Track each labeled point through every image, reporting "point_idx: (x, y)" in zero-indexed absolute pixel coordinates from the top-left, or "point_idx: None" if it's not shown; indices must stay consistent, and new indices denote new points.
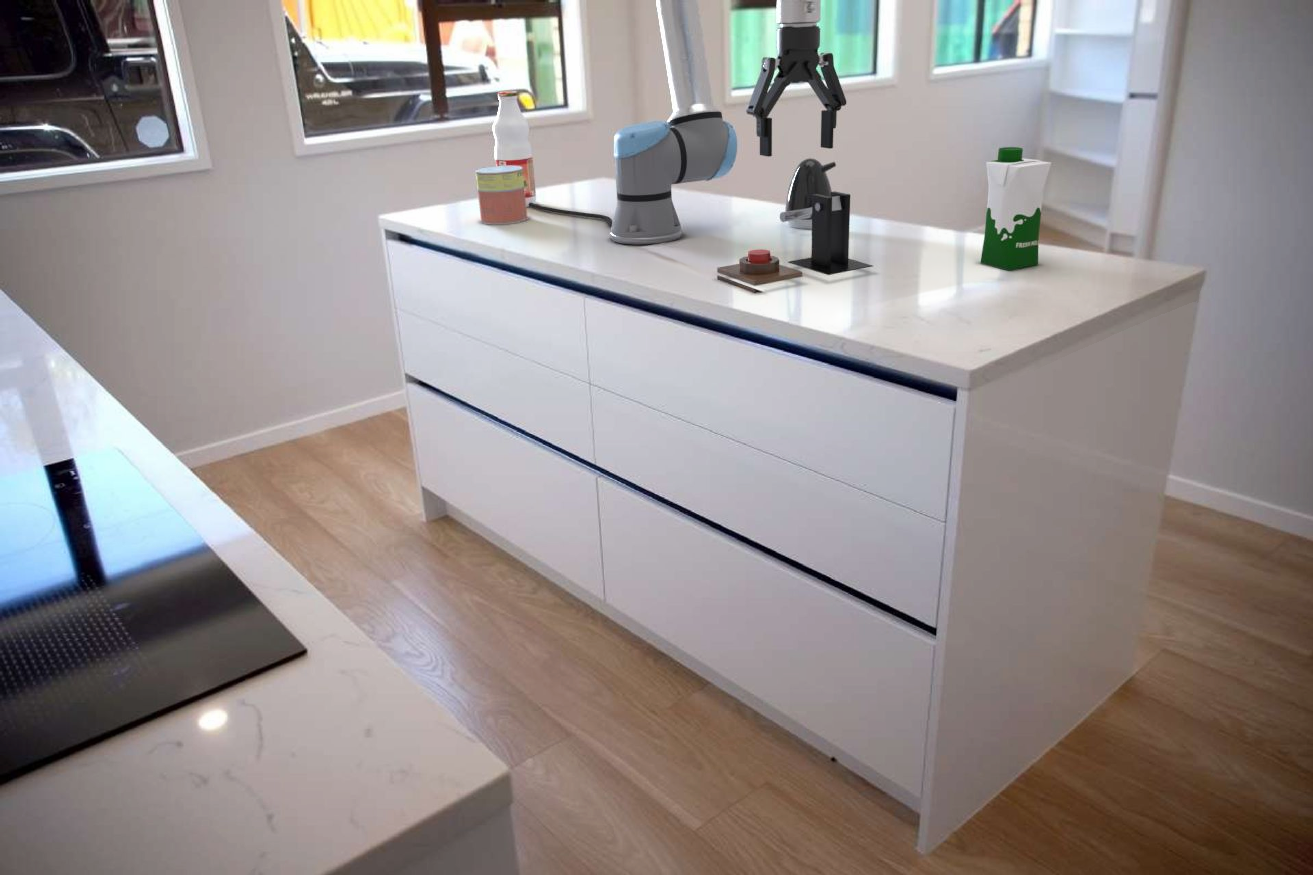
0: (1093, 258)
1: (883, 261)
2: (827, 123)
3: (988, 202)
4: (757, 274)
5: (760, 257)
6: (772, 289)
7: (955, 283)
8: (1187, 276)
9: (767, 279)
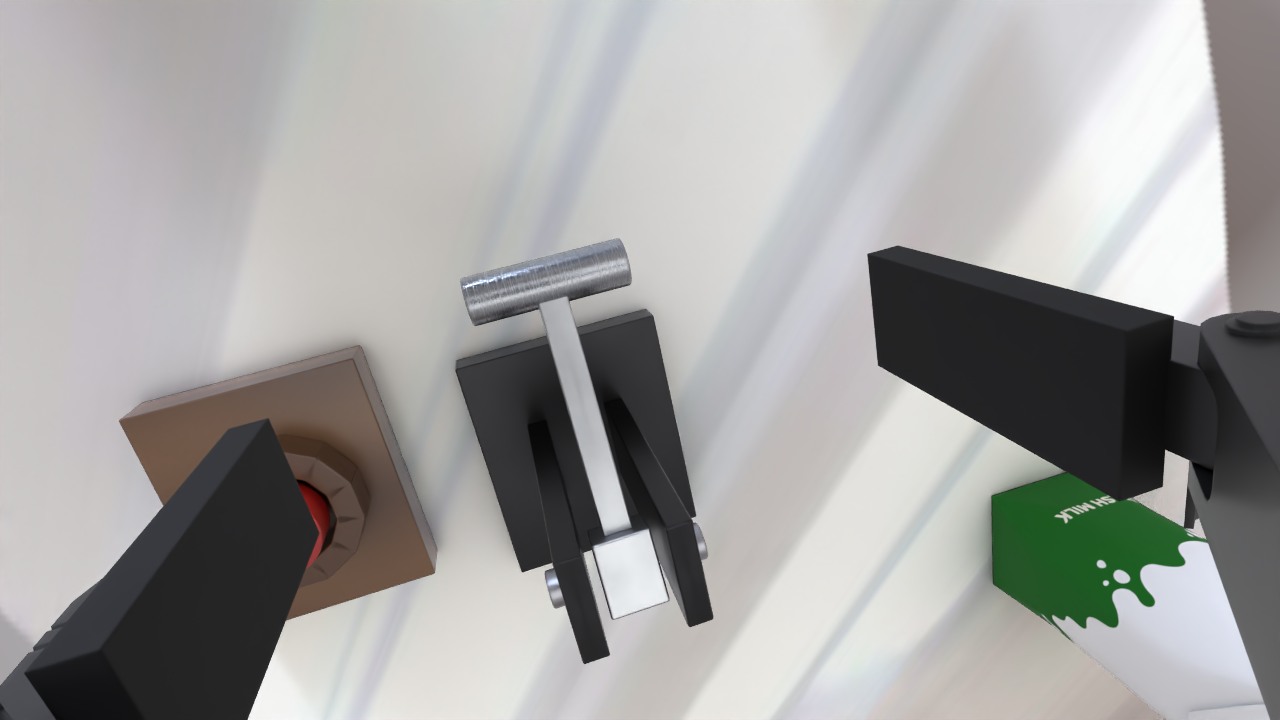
0: None
1: (794, 374)
2: (1015, 397)
3: (1134, 630)
4: None
5: None
6: None
7: (819, 648)
8: None
9: (288, 619)
